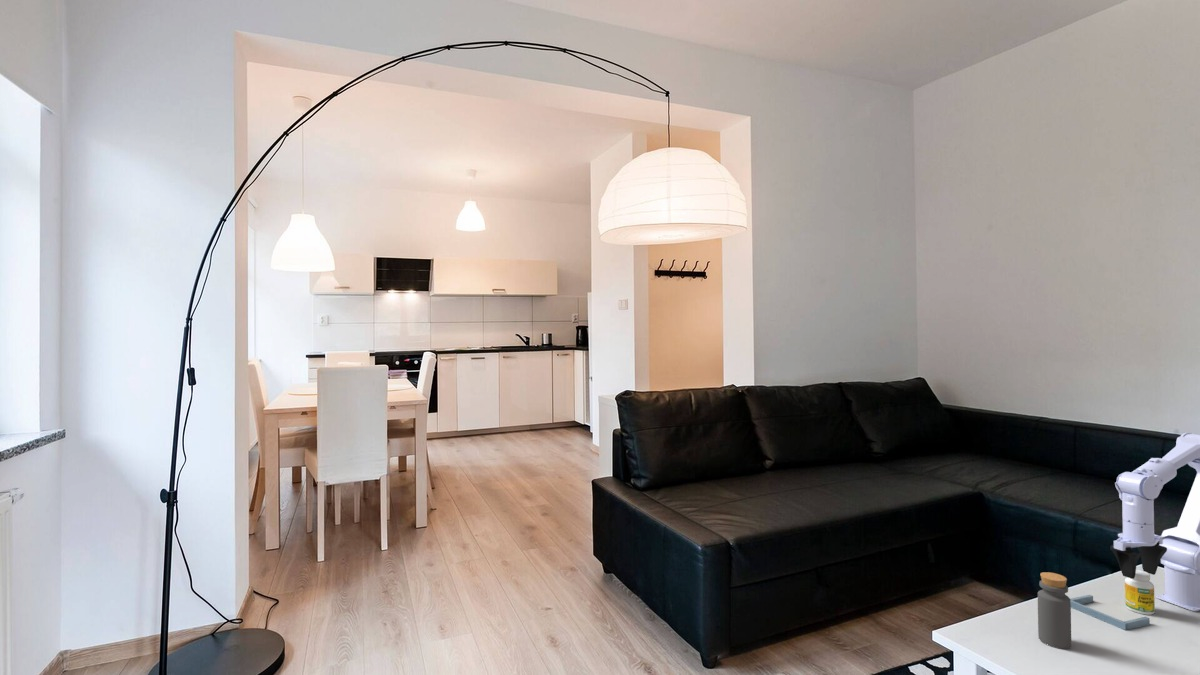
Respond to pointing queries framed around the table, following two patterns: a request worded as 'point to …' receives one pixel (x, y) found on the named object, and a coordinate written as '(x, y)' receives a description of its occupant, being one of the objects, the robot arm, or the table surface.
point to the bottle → (1054, 611)
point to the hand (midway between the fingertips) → (1138, 575)
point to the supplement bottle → (1140, 593)
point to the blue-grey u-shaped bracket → (1125, 625)
